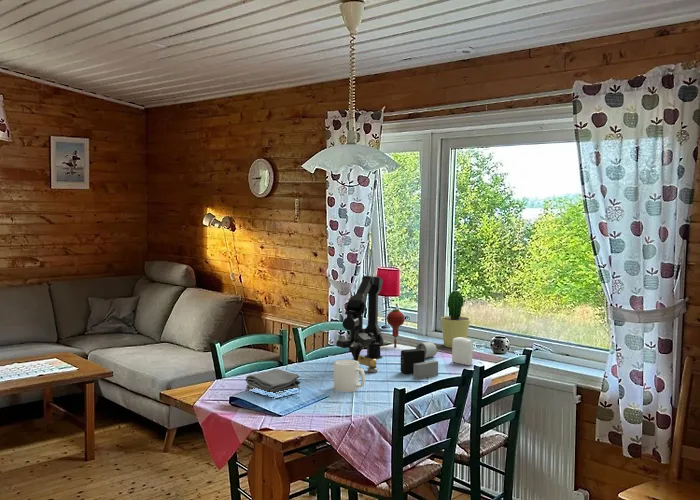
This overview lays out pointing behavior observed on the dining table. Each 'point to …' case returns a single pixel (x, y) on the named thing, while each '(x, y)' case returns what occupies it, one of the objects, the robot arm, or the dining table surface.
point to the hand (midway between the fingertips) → (356, 360)
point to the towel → (273, 381)
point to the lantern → (395, 322)
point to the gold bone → (367, 361)
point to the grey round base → (372, 370)
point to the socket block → (425, 369)
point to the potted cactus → (454, 320)
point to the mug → (347, 376)
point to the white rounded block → (462, 351)
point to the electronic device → (411, 359)
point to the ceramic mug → (428, 349)
